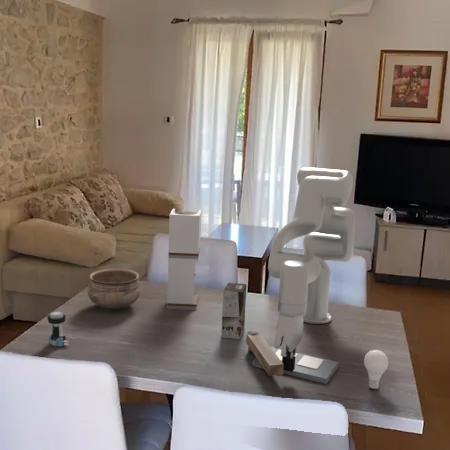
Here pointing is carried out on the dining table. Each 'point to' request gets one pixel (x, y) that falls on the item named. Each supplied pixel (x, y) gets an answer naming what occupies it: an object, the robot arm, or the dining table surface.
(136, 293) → the cooking pot
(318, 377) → the label board
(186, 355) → the dining table surface
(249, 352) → the swing post
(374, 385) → the lightbulb
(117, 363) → the dining table surface
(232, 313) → the coffee box
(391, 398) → the dining table surface
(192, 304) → the white wood-banded pillar
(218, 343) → the dining table surface
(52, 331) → the push button
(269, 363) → the swing bar
